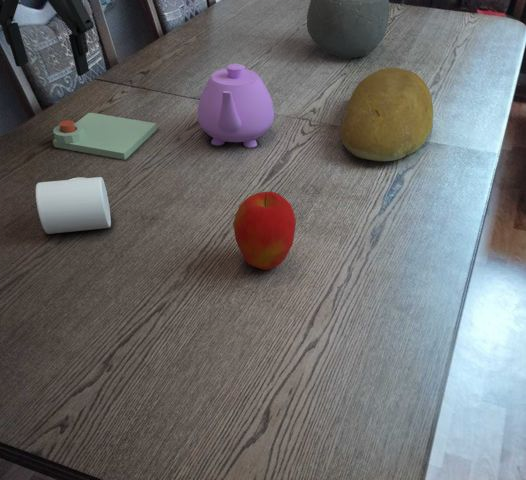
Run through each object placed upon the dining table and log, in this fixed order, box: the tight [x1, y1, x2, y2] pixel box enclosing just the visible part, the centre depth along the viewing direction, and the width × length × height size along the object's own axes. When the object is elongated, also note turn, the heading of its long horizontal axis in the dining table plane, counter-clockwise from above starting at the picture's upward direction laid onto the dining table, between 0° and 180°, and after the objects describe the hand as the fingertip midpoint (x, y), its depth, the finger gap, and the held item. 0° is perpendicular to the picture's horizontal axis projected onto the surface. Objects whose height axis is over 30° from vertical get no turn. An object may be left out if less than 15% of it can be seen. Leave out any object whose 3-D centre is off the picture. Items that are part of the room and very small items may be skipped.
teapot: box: [197, 63, 275, 148], centre depth 109 cm, size 22×16×14 cm
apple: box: [232, 191, 297, 271], centre depth 80 cm, size 9×9×12 cm
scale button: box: [58, 119, 76, 133], centre depth 109 cm, size 3×3×2 cm
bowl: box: [306, 0, 390, 59], centre depth 144 cm, size 21×21×15 cm
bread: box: [340, 67, 434, 162], centre depth 113 cm, size 18×35×10 cm, turn 167°
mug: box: [35, 176, 112, 235], centre depth 90 cm, size 12×10×8 cm
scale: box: [52, 112, 158, 161], centre depth 112 cm, size 16×14×3 cm
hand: (52, 68), depth 101 cm, fingers open, 12 cm apart
